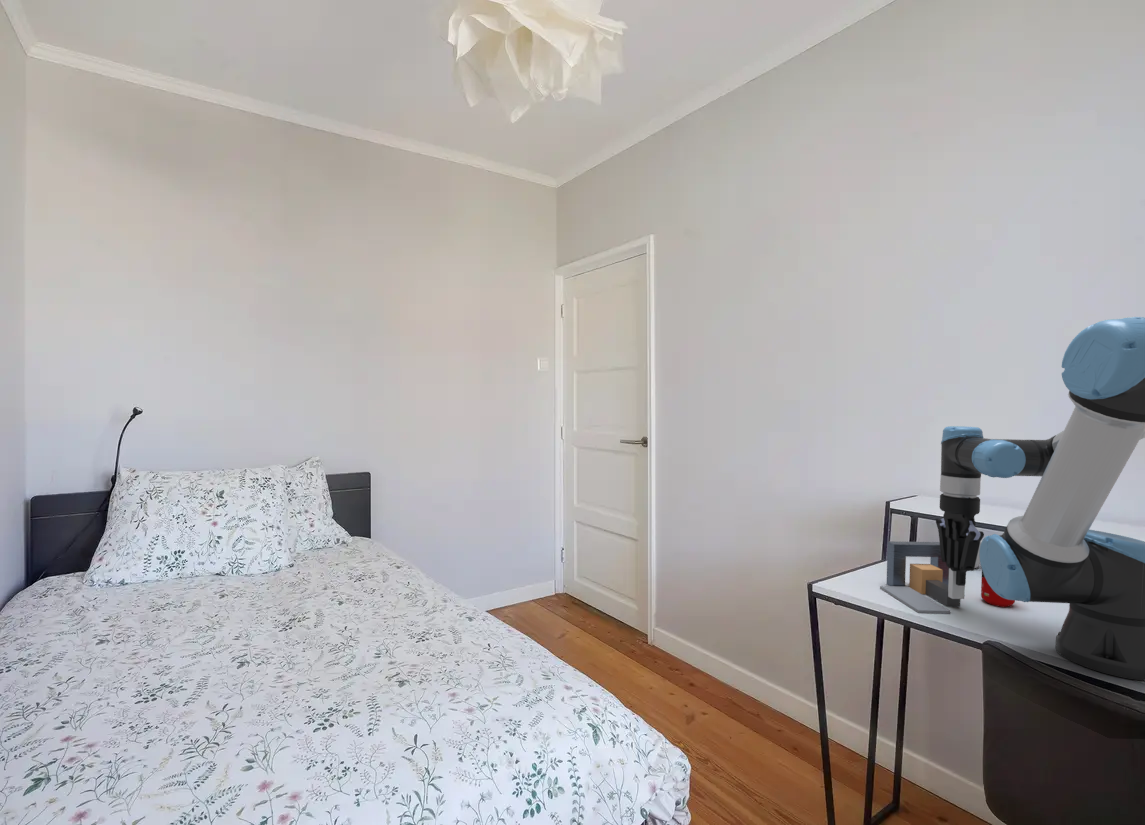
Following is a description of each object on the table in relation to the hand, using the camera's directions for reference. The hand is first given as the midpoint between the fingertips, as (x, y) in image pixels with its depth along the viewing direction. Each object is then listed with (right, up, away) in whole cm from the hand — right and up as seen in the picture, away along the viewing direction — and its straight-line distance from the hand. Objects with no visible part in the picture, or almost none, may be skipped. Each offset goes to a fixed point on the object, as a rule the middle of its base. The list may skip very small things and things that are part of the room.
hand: (956, 597), depth 128 cm
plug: (0, -2, +7) cm, 8 cm away
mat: (-7, -2, +5) cm, 9 cm away
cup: (+23, -2, +32) cm, 40 cm away
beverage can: (+12, -3, +3) cm, 13 cm away
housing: (0, -2, +14) cm, 15 cm away
